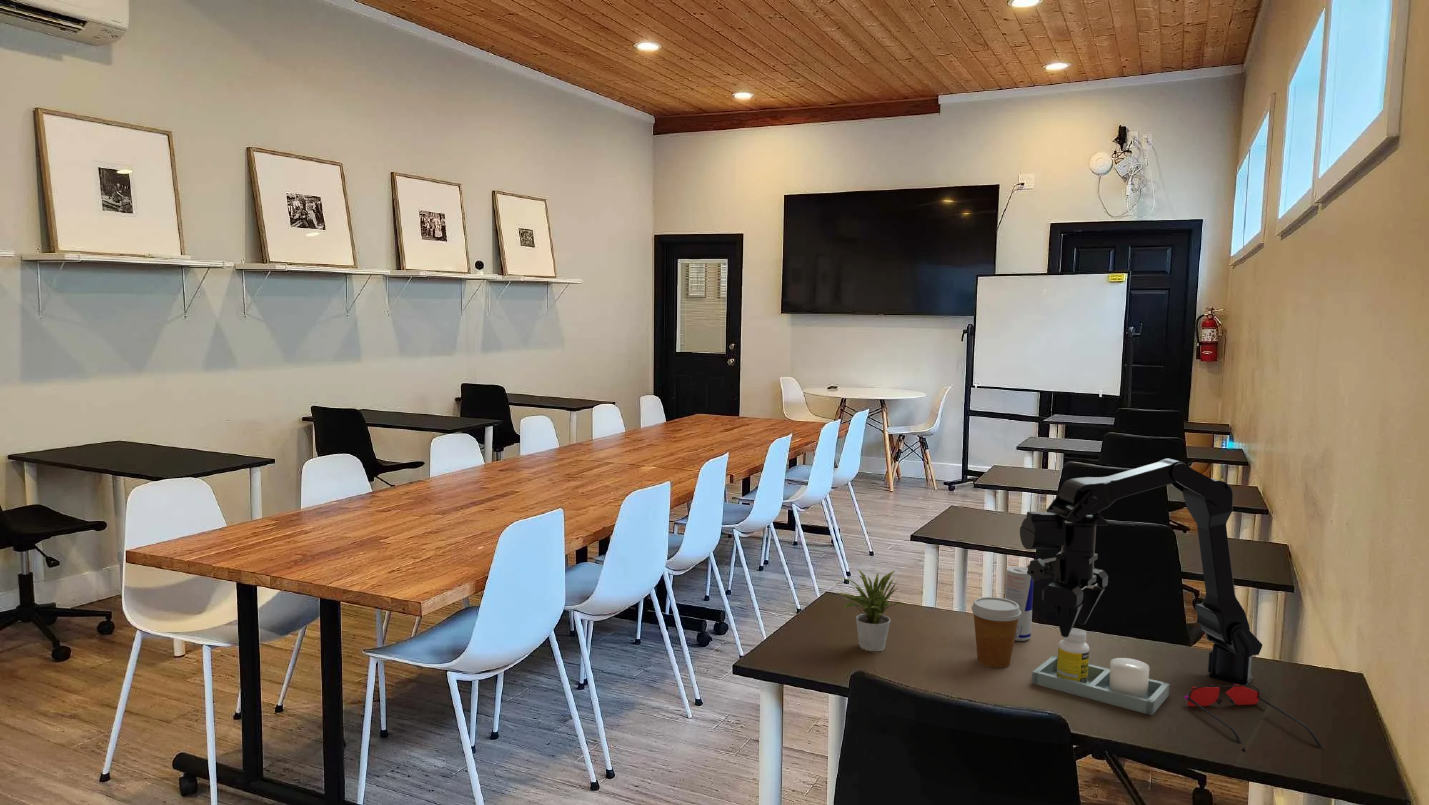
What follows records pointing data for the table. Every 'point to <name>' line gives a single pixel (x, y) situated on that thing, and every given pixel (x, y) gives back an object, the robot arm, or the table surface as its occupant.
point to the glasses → (1239, 696)
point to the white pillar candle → (1129, 677)
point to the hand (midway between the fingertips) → (1073, 630)
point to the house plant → (872, 612)
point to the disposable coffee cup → (995, 630)
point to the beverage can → (1020, 599)
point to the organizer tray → (1100, 687)
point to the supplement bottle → (1073, 656)
